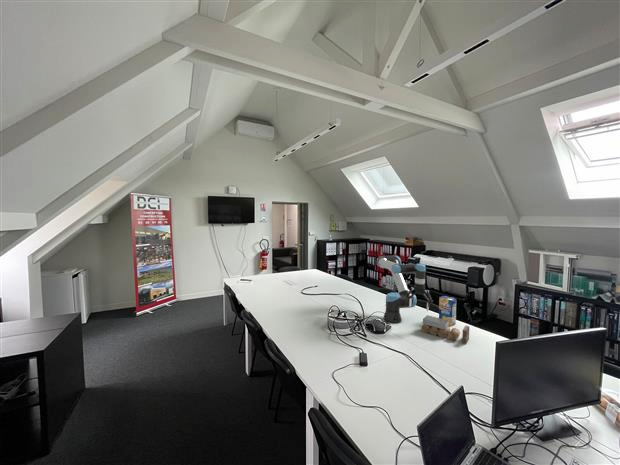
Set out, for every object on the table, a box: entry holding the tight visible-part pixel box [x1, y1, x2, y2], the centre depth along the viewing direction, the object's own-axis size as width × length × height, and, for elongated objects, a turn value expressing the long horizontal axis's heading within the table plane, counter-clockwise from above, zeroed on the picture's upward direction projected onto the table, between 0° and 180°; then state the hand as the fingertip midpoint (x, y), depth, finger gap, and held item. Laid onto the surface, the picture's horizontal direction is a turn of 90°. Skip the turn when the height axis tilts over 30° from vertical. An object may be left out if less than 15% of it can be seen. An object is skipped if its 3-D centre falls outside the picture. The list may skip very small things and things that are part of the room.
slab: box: [422, 315, 449, 330], centre depth 195 cm, size 16×10×4 cm, turn 48°
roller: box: [447, 327, 461, 342], centre depth 187 cm, size 11×6×6 cm
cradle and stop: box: [446, 325, 470, 345], centre depth 185 cm, size 12×10×10 cm
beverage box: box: [438, 295, 457, 327], centre depth 213 cm, size 7×11×22 cm, turn 36°
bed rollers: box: [421, 324, 451, 339], centre depth 196 cm, size 11×18×6 cm, turn 48°
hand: (418, 308), depth 204 cm, fingers open, 13 cm apart
